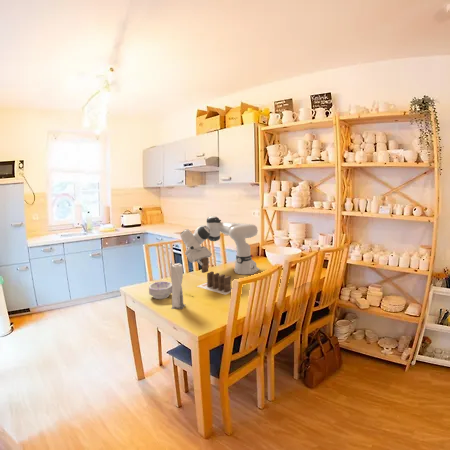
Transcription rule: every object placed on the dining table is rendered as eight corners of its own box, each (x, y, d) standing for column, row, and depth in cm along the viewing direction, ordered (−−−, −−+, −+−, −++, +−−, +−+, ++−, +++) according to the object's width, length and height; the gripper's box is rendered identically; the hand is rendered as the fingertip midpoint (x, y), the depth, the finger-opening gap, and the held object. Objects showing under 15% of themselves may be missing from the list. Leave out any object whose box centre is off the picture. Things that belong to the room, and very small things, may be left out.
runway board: (207, 283, 231) (207, 281, 231) (236, 290, 215) (236, 289, 215) (196, 287, 222) (196, 286, 222) (225, 296, 206) (225, 294, 206)
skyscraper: (168, 308, 188) (167, 263, 183) (173, 303, 195) (171, 259, 191) (182, 309, 186) (181, 263, 182) (186, 304, 194) (185, 260, 190)
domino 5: (224, 291, 211) (224, 277, 209) (228, 289, 215) (228, 275, 213) (226, 292, 210) (226, 278, 208) (230, 290, 214) (230, 276, 212)
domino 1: (201, 272, 222) (201, 258, 220) (206, 270, 226) (206, 257, 224) (203, 273, 221) (203, 259, 219) (208, 271, 225) (208, 257, 223)
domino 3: (212, 288, 217) (212, 274, 215) (217, 286, 221) (217, 272, 219) (214, 289, 216) (214, 275, 214) (219, 287, 220) (219, 273, 218)
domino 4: (218, 290, 214) (218, 276, 212) (223, 288, 218) (222, 274, 216) (220, 290, 213) (220, 276, 211) (225, 288, 217) (224, 274, 215)
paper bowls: (149, 302, 197) (149, 290, 196) (148, 293, 211) (148, 282, 210) (174, 299, 201) (173, 287, 200) (171, 291, 215) (171, 280, 214)
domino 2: (207, 287, 220) (207, 273, 219) (212, 285, 224) (211, 271, 222) (209, 287, 219) (209, 273, 217) (214, 285, 223) (213, 272, 221)
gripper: (202, 248, 236) (212, 263, 232) (182, 253, 220) (193, 269, 216) (207, 243, 233) (217, 258, 228) (187, 248, 217) (197, 264, 212)
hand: (205, 264), depth 222 cm, fingers closed on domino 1, 5 cm apart
